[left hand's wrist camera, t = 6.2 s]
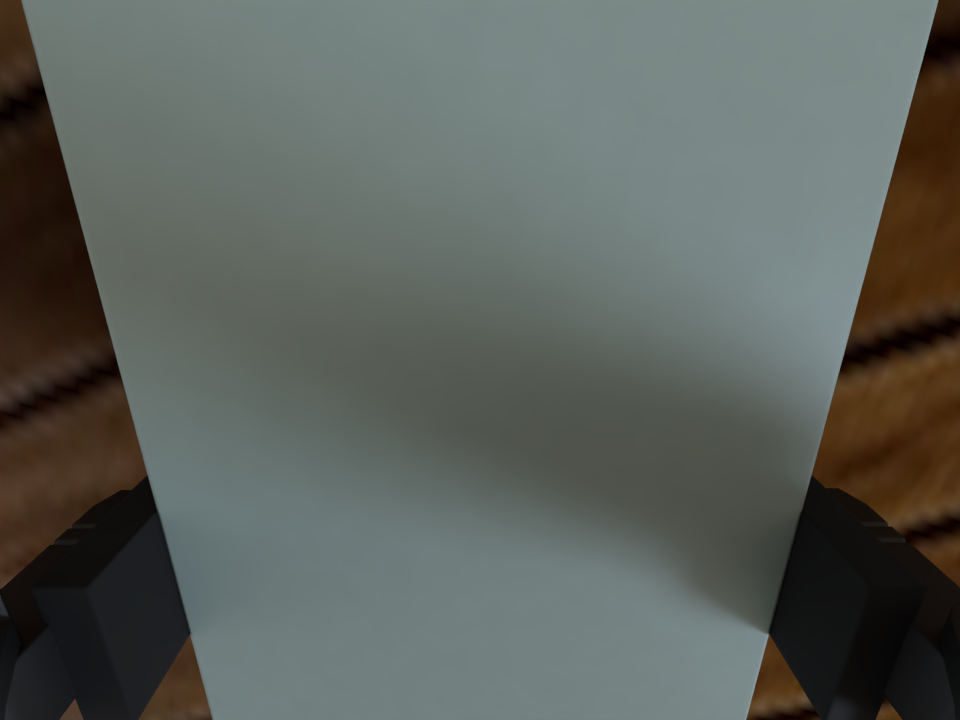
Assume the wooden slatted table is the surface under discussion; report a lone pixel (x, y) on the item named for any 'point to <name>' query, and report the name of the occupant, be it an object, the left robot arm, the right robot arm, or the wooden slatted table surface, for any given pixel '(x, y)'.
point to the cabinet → (479, 328)
